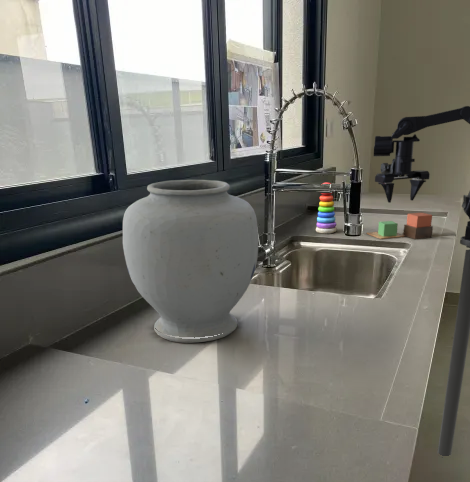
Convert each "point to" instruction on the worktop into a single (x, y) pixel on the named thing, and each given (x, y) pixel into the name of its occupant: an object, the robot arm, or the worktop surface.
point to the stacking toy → (326, 214)
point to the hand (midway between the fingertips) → (400, 201)
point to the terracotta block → (419, 219)
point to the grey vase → (191, 255)
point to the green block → (387, 228)
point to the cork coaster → (384, 237)
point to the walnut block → (418, 232)
